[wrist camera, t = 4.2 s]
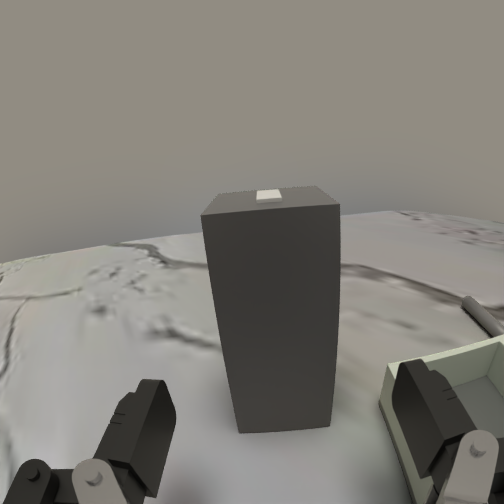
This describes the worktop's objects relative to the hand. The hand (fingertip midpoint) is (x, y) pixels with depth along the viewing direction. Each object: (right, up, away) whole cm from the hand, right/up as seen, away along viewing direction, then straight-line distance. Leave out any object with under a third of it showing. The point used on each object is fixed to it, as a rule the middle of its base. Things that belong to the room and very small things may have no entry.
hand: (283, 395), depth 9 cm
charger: (+1, -4, +8) cm, 9 cm away
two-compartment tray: (+15, -3, +6) cm, 17 cm away
